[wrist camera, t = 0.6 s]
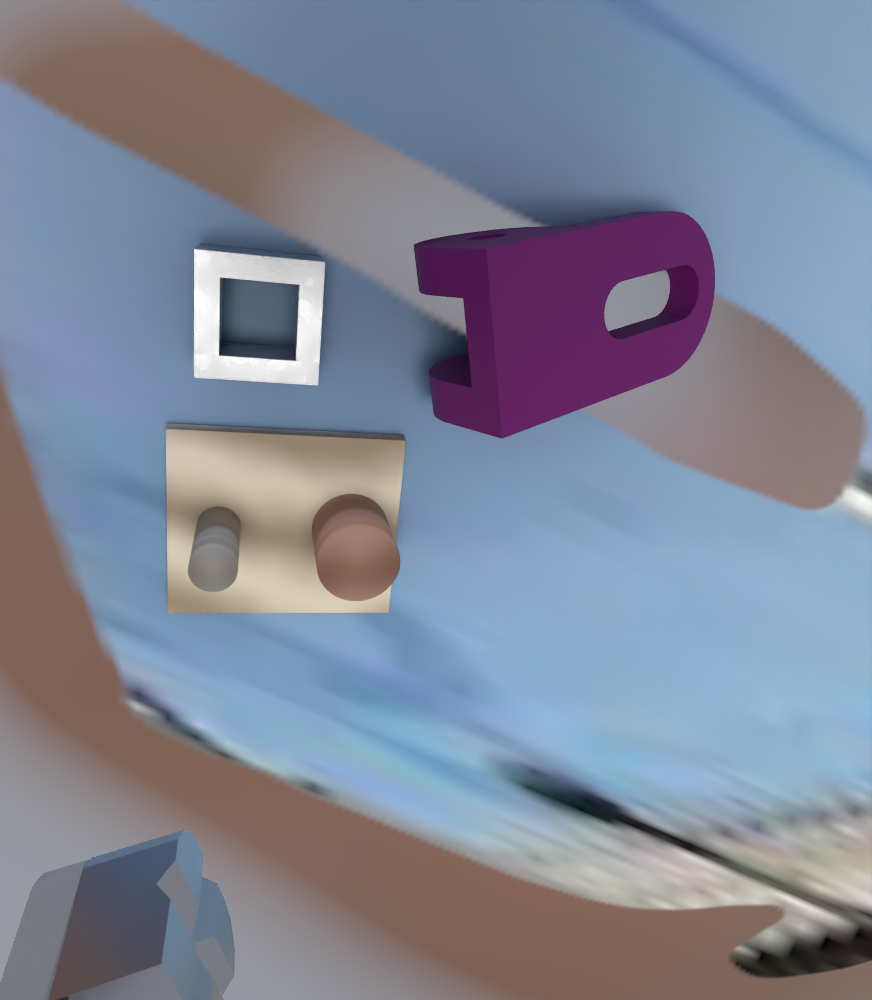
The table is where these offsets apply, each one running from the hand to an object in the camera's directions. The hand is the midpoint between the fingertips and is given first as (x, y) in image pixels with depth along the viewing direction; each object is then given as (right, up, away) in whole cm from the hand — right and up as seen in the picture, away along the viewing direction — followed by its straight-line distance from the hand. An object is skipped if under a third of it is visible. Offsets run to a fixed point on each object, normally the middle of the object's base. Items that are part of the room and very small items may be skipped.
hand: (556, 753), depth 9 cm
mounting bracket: (+6, +15, +39) cm, 43 cm away
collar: (-11, +14, +35) cm, 40 cm away
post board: (-11, +2, +40) cm, 42 cm away
